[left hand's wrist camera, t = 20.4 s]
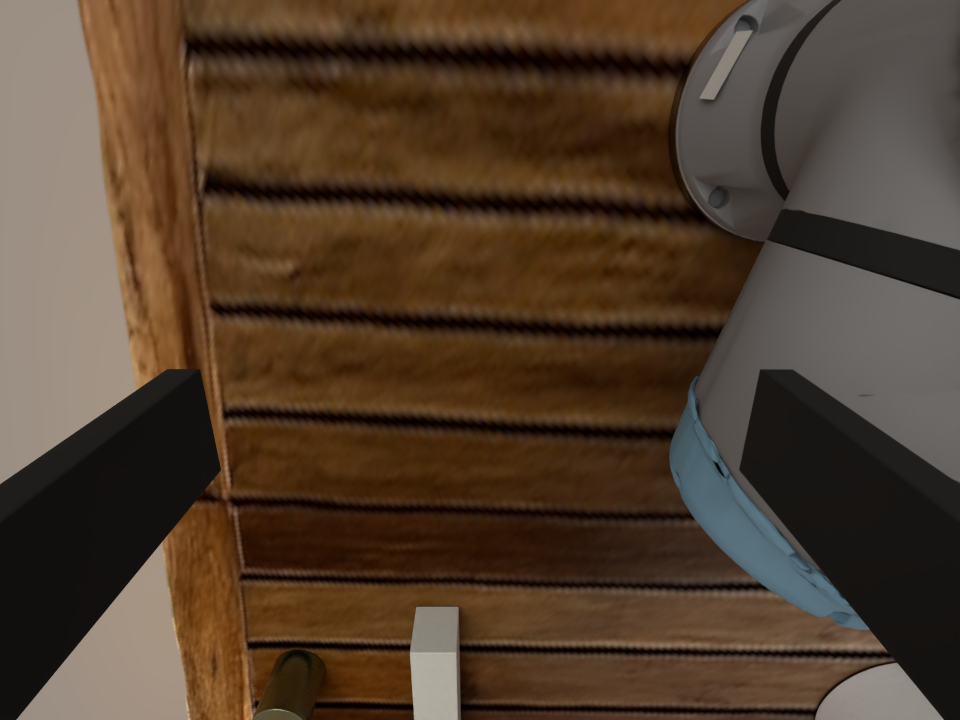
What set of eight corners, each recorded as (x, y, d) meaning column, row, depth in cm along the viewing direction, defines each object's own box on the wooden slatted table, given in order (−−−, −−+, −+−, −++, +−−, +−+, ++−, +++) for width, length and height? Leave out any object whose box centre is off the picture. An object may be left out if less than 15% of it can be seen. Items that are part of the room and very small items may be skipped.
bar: (458, 606, 50) (456, 653, 45) (461, 770, 59) (460, 823, 54) (416, 606, 50) (409, 653, 45) (425, 770, 59) (421, 823, 54)
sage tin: (322, 649, 52) (303, 709, 46) (327, 685, 54) (310, 747, 48) (271, 649, 52) (246, 709, 46) (278, 685, 54) (255, 747, 48)
